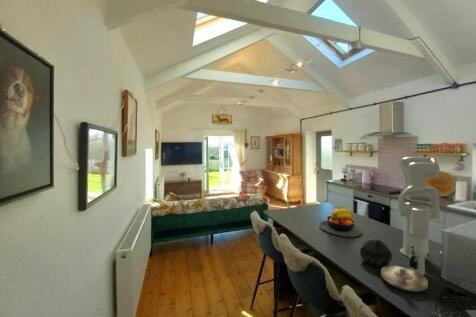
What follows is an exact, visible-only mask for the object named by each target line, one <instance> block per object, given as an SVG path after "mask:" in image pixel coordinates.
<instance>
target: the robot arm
mask: <svg viewBox="0 0 476 317" xmlns="http://www.w3.org/2000/svg"><path fill="white" fill-rule="evenodd" d="M399 166H400V170H401V172H402V174H403V177H404V189H403V190H402V191H401V192H400V194H399V196H398V199H397V208H398V209H397V212H398V214H399V216H400V217H402V218H403V236H402V238H403V240H402V242H403V243H402V247H401V248H400V249H399V253H400V254H402V255H404V256H406V257H408V259H409V268H410V269H411V268H413V269H417V261H416V260H417V257H418V256H420V253H422V255H425V268H426V267H427V259H428V254H429V251H430V249H429V224H430V221H431V222H438V221H439V220H440V219H441V218H440V217H441V206H440V193H439V190H438V189H437V188H436V187H434V186H427V178H438V177H439V175H440V170H441V169H440V165H439V163H438V161H437V159H436V158H435V157H432V156H404V157H403V158H401V160H400V164H399ZM405 199H406V200H409V201H410V202H405ZM412 201H413V202H412ZM414 201H415V202H414ZM422 202H424V203H422ZM412 253H415V255H414V254H412ZM413 256H415V258H414V257H413Z"/></svg>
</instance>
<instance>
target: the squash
mask: <svg viewBox="0 0 476 317" xmlns="http://www.w3.org/2000/svg"><path fill="white" fill-rule="evenodd" d="M359 255H360V257H361V259H362V260H363V261H364V262H366V263H367V264H370V265H372V266H373V265H374V267H376V268H383V267H385V266H389V263H390V262H391V261H392V260H393V255H392V251H391V250H390V248H389V247H388V245H387V244H385V243H384V242H383V241H382V240H380V239H370V240H366V241H365V242H364V243H362V246H361V247H360V249H359Z"/></svg>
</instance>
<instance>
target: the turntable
mask: <svg viewBox="0 0 476 317" xmlns="http://www.w3.org/2000/svg"><path fill="white" fill-rule="evenodd" d="M380 275H381V277H382V279H384V281H386V283H388V282H389V283H390V284H392V285H394V286H397V287H399V288H402V289H406V290H411V291H420V292H423V291H427V290H428V287H429V285H428V284H429V282H428V279H427V278H426V277H425V276H424V275H423V276H422V275H421V274H419V273H417V272H415V271H413V270H411V268H406V267H402V266H398V265H387V266H385V267H381V269H380ZM389 283H388V284H389ZM390 284H389V285H390Z"/></svg>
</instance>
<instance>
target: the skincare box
mask: <svg viewBox="0 0 476 317" xmlns="http://www.w3.org/2000/svg"><path fill="white" fill-rule="evenodd" d="M412 254H414V255H415V253H412ZM413 257H414V258H415V256H413ZM416 261H417V269H413V268H411V267H410V270H413V271H415V272H417V273H419V274H421V275H422V276H424V275H425V274H426V267H425V255H422V253H420V256H418V257H417V260H416Z"/></svg>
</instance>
